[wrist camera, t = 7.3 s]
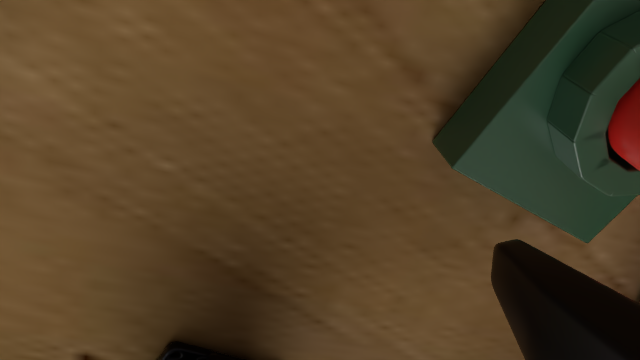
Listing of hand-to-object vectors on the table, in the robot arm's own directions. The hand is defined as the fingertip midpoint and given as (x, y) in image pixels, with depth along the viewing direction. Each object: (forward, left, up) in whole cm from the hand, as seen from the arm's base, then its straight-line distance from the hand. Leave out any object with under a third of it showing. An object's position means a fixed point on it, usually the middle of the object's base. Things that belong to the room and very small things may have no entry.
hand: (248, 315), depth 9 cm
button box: (+7, -14, -12) cm, 20 cm away
